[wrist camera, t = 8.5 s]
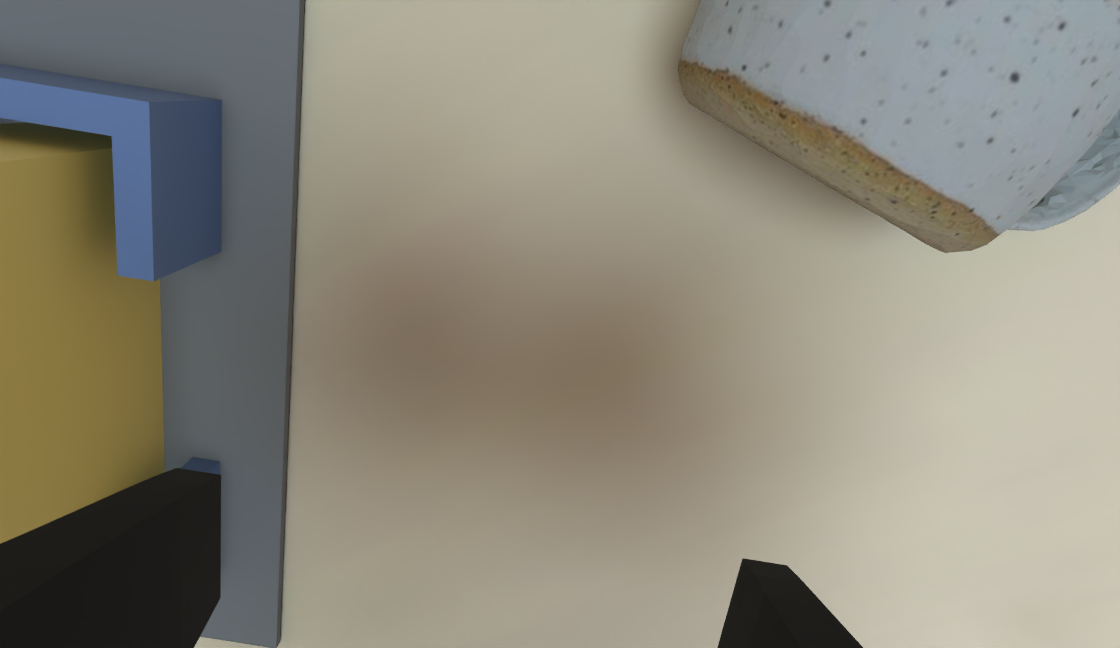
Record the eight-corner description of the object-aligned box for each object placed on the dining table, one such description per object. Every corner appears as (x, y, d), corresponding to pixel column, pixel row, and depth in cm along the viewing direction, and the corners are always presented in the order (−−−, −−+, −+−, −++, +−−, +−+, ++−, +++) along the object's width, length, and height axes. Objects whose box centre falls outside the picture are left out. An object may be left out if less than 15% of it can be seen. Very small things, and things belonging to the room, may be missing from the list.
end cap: (-40, 57, 17) (-165, 50, 14) (221, 99, 17) (149, 102, 14) (-24, 211, 18) (-137, 234, 16) (221, 251, 19) (153, 281, 16)
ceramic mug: (637, 89, 17) (677, 94, 10) (835, -282, 15) (1081, -635, 7) (993, 290, 18) (1260, 426, 11) (1229, -19, 16) (1765, -101, 9)
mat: (280, 641, 23) (276, 648, 23) (-31, 591, 23) (-40, 598, 22) (304, -3, 17) (299, -4, 17) (-118, -73, 17) (-131, -75, 16)
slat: (165, 519, 21) (8, 678, 15) (59, 503, 21) (-138, 655, 15) (156, 142, 18) (-51, 168, 12) (28, 122, 18) (-240, 137, 12)
